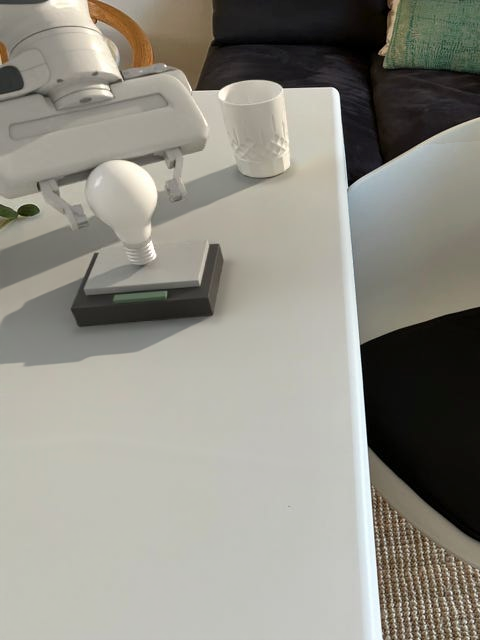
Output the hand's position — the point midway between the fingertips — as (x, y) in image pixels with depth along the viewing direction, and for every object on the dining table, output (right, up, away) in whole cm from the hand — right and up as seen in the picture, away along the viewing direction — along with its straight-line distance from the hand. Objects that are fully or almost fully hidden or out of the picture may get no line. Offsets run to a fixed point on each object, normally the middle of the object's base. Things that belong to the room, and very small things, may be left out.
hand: (131, 212), depth 75 cm
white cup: (+5, +11, +27) cm, 30 cm away
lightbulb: (-1, -4, +5) cm, 7 cm away
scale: (0, -7, +6) cm, 9 cm away
